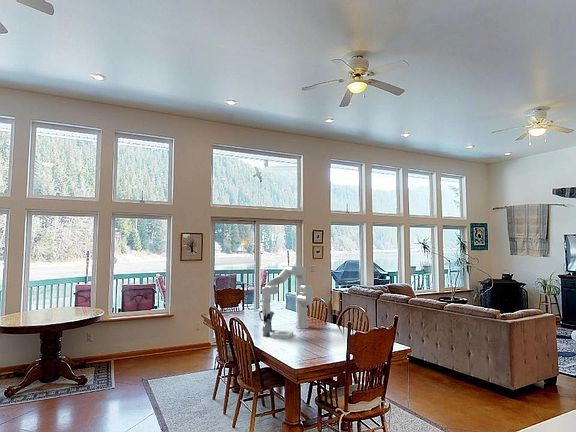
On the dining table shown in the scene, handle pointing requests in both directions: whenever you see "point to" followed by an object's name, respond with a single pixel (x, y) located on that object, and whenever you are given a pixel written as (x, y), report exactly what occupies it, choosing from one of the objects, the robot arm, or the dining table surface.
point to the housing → (282, 334)
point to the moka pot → (268, 319)
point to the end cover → (266, 330)
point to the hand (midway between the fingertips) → (266, 320)
